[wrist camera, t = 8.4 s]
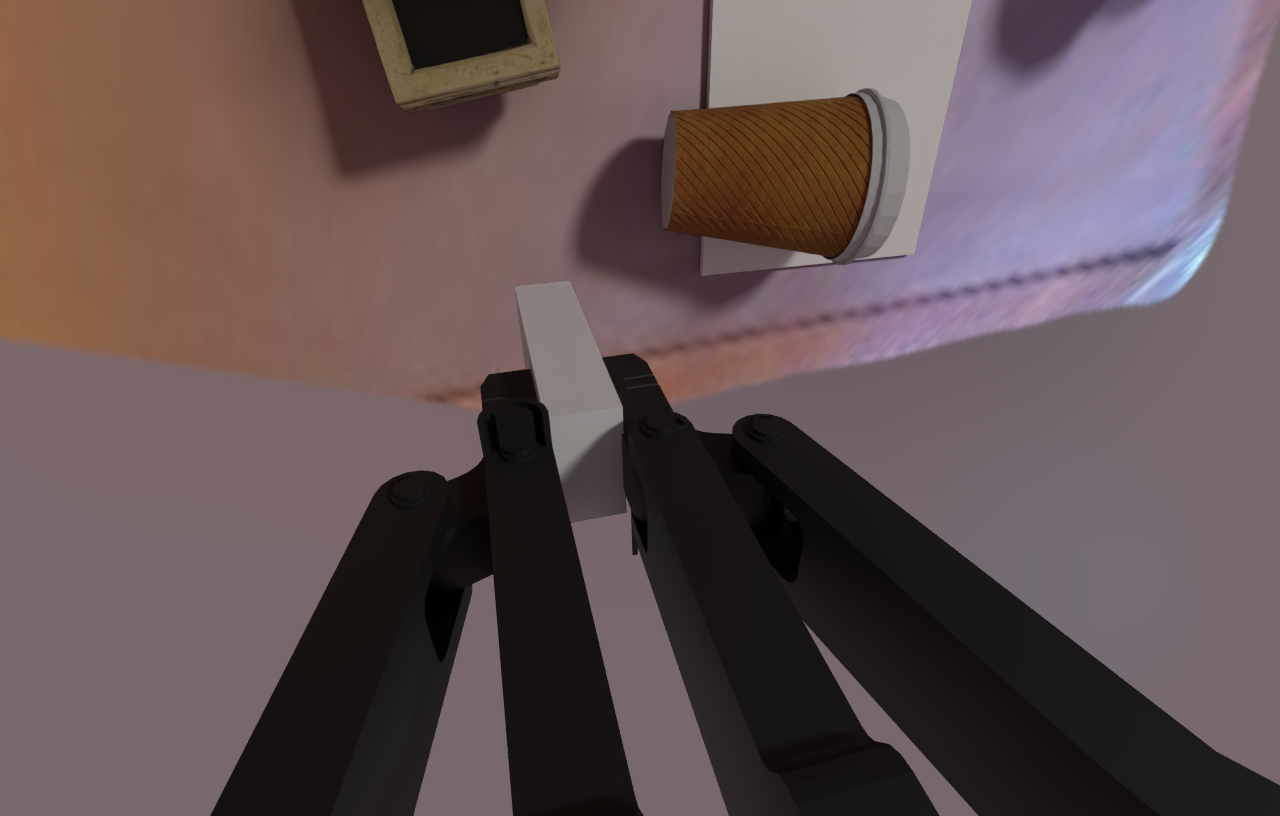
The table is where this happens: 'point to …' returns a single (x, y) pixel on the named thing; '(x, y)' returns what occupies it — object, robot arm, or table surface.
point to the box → (461, 48)
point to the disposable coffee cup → (789, 174)
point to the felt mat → (837, 86)
